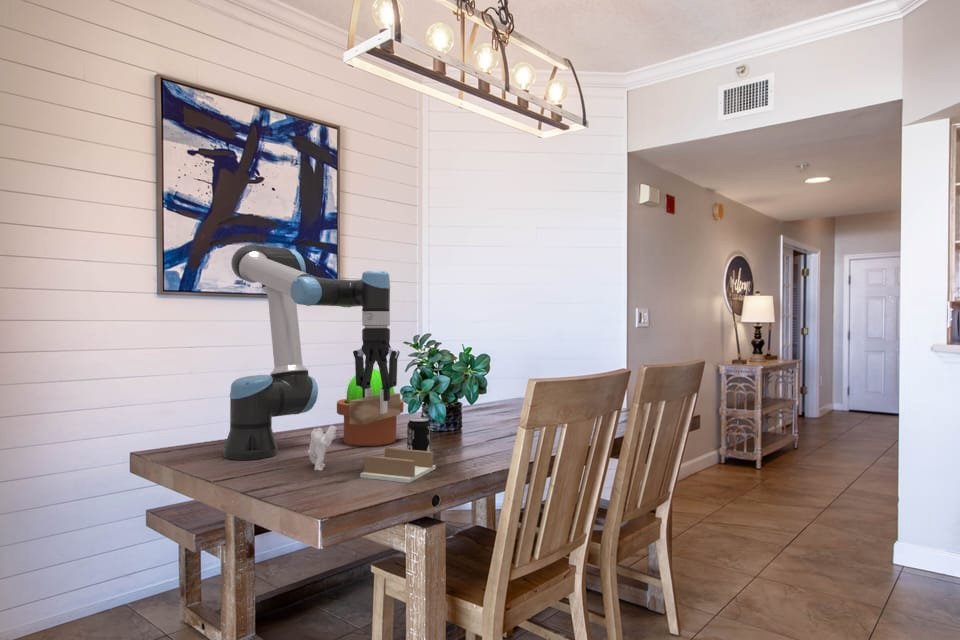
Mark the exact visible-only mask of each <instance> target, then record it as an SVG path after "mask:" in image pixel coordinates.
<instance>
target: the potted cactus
mask: <svg viewBox="0 0 960 640" xmlns="http://www.w3.org/2000/svg"><path fill="white" fill-rule="evenodd" d="M364 370H365V367H364ZM349 381H350V382H349V383H348V385H347V388H346V391H345V392H344V393H345V394H346V395H344V396H345V397H346V398H341V399H339V400H337V401H336V413H337V414H338V415H339V416H343V442H344V444H347V445H348V446H349V445H350V446H355V447H358V446H359V447H374V446H375V447H377V446H378V447H379V446H386V445H390V444H392V443H393V444H394V443H395V442H396V440H397V416H398V415H396V416H392V417H389V418H385V419H381V420H378V421H374V422H371V423H367V424H363V425H361V424H349V401H351V400H356V399H361V398H363V393H362V387H360V386H357V385H356V374H355V375H354V376H352V378H351V379H350V380H349ZM370 386H371V387H370V388H372V396H376V395H380V389H381V388H383V387H382V381H381V376H380V370H379V368H378V369H377V368H373V372H372V377H371V383H370ZM395 387H396V386H394V387H392V388H390V393H395ZM404 402H405V401H404V400H403V399H401V398H400V414H403V413H404V405H405V404H404Z"/></svg>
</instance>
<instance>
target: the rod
mask: <svg viewBox="0 0 960 640" xmlns="http://www.w3.org/2000/svg"><path fill="white" fill-rule="evenodd" d="M400 399H401V393H397V392H394V393H390V400H389V401H387V413H383V414H380V395H376V396H371V397H366V398H361V399H356V400H351V401H349V424H361V425H363V424H367V423H371V422H374V421H378V420H381V419H385V418H389V417H392V416H396V415H397V416H399V415H401V413H400ZM397 416H396V417H397Z"/></svg>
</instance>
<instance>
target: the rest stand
mask: <svg viewBox="0 0 960 640" xmlns="http://www.w3.org/2000/svg"><path fill="white" fill-rule="evenodd" d="M436 469H437V465H436V464H434V451H431V450H430V451H419V450H409V449H407V448H396V447H385V448H384V456H375V455H365V456H363V471H362V472H360V476H359V477H360V478H362V479H371V480H380V481H388V482H396V483H397V482H398V483H406V484H409V483H411V482H414V481H415V480H417V479H419V478H421V477H423V476H425V475H426V474H428V473H430V472H432V471H434V470H436Z"/></svg>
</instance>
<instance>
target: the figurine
mask: <svg viewBox="0 0 960 640" xmlns="http://www.w3.org/2000/svg"><path fill="white" fill-rule="evenodd" d="M337 428H338V427H337V426H334V425H329V427H328V429H327V431H325V433H324V432H323V428H322V427H318V428H314V429H313V430H311V433H310V440H311V441H310V442H309V449H308V450H307V455H308V456H309V461H311V462H312V464H314V471H317V470H318V471H320V472H321V471H324V467H326V464H325V463H324V461H325V454H326V452H327V447H330V446H331V444H332V441H333V440H335V438H336V436H337V434H336V432H337V430H338V429H337Z"/></svg>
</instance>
